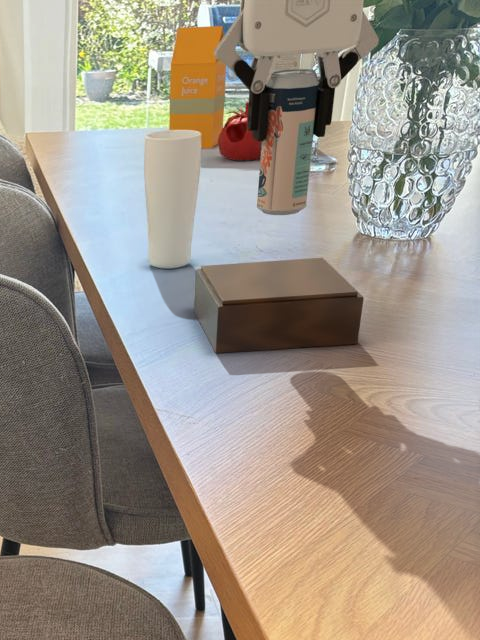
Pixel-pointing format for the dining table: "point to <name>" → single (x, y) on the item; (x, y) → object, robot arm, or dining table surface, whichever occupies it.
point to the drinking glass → (171, 194)
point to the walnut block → (276, 305)
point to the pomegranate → (238, 139)
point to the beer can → (287, 142)
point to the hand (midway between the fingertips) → (287, 134)
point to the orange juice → (198, 83)
